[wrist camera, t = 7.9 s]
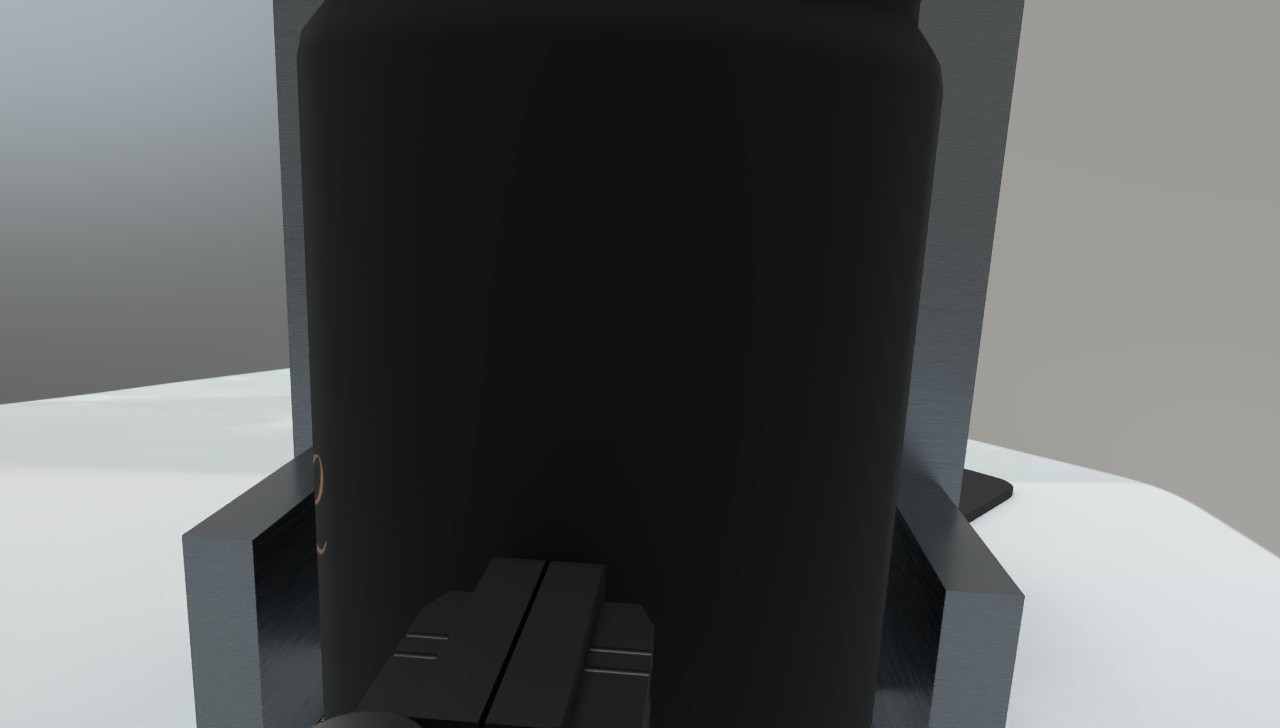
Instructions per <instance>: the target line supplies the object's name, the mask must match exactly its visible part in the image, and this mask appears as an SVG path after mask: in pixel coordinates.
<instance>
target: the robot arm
mask: <svg viewBox="0 0 1280 728" xmlns="http://www.w3.org/2000/svg"><path fill="white" fill-rule="evenodd" d="M653 644H654V625H653V623H652V622H651V620H650V619H649V617H648V615H647V614H646V612H645V610H644V609H643V607H642V606H641V605H640V604H627V603H614V602H606V565H603V564H590V563H576V562H562V561H551V562H550V564H549V562H548V561H545V560H531V559H518V558H504V557H494V558H493V559H492V560H491V562H490V563H489V565H488V567H487V569H486V571H485V572H484V574H483V576H482V578H481V579H480V581H479V583H478V585H477V587H476V588H475V590H474V592H464V591H451V590H450V591H449V592H447V593H446V594H444V595H442V596H441V597H439V598H438V599H436V600H435V601H433V602H432V603H430V604H429V605H427V606H425V607H424V608H422V609H421V611H420V613H419V614H418V616H417V617H416V619H415V620H414V622H413V623H412V625H411V626H410V628H409V629H408V631H407V635H406V636H404V637H403V638H402V640H401V641H400V643H399V644H398V646H397V647H396V649H395V651H394V656H391V657H390V658H389V660H388V661H387V663H386V664H385V666H384V667H383V669H382V670H381V672H380V673H379V675H378V676H377V678H376V679H375V681H374V682H373V684H372V685H371V687H370V689H369V690H368V692H367V693H366V695H365V696H364V698H363V699H362V701H361V702H360V704H359V705H358V707H357V708H356V710H355V711H354V713H350V714H345V715H341V716H337V717H334V718H331V719H328V720H326V721H323V722H321V723H319V724H317V725H315V726H313V727H311V728H649V727H650V706H651V685H652V664H653Z"/></svg>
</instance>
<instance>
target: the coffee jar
mask: <svg viewBox="0 0 1280 728" xmlns="http://www.w3.org/2000/svg"><path fill="white" fill-rule="evenodd" d="M921 1H922V0H325V1H324V2H323V3H322V5H321V6H320V7H319V8H318V10H317V11H316V12H315V13H314V15H313V16H312V17H311V18H310V20H309V21H308V22H307V23H306V25H305V26H304V27H303V29H302V30H301V35H300V41H299V46H298V51H297V81H298V105H299V129H300V153H301V177H302V201H303V225H304V249H305V273H306V297H307V321H308V345H309V369H310V392H311V416H312V440H313V464H314V488H315V512H316V536H317V560H318V584H319V608H320V632H321V656H322V680H323V704H324V721H326V720H328V719H331V718H334V717H337V716H341V715H345V714H350V713H354V711H355V710H356V708H357V707H358V705H359V704H360V702H361V701H362V699H363V698H364V696H365V695H366V693H367V692H368V690H369V689H370V687H371V685H372V684H373V682H374V681H375V679H376V678H377V676H378V675H379V673H380V672H381V670H382V669H383V667H384V666H385V664H386V663H387V661H388V660H389V658H390V657H391V656H394V651H395V649H396V647H397V646H398V644H399V643H400V641H401V640H402V638H403V637H404V636H406V635H407V631H408V629H409V628H410V626H411V625H412V623H413V622H414V620H415V619H416V617H417V616H418V614H419V613H420V611H421V609H422V608H424V607H425V606H427V605H429V604H430V603H432V602H433V601H435V600H436V599H438V598H439V597H441V596H442V595H444V594H446V593H447V592H449V591H450V590H451V591H464V592H474V590H475V588H476V587H477V585H478V583H479V581H480V579H481V578H482V576H483V574H484V572H485V571H486V569H487V567H488V565H489V563H490V562H491V560H492V559H493V558H494V557H504V558H518V559H531V560H545V561H548V562H549V564H550V562H551V561H562V562H576V563H590V564H603V565H606V602H614V603H627V604H640V605H641V606H642V607H643V609H644V610H645V612H646V614H647V615H648V617H649V619H650V620H651V622H652V623H653V625H654V644H653V664H652V685H651V706H650V727H649V728H871V725H872V716H873V707H874V699H875V690H876V681H877V672H878V663H879V655H880V646H881V637H882V628H883V619H884V610H885V602H886V593H887V584H888V575H889V566H890V558H891V549H892V540H893V531H894V522H895V513H896V505H897V496H898V487H899V478H900V469H901V461H902V452H903V443H904V434H905V425H906V416H907V408H908V399H909V390H910V381H911V372H912V364H913V355H914V346H915V337H916V328H917V319H918V311H919V302H920V293H921V284H922V275H923V267H924V258H925V249H926V240H927V231H928V223H929V214H930V205H931V196H932V187H933V178H934V170H935V161H936V152H937V143H938V134H939V126H940V117H941V108H942V99H943V83H942V74H941V65H940V63H939V61H938V59H937V57H936V55H935V53H934V51H933V49H932V48H931V46H930V45H929V43H928V42H927V40H926V39H925V37H924V35H923V34H922V32H921V31H920V29H919V28H918V22H919V12H920V3H921Z"/></svg>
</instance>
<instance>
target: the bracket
mask: <svg viewBox="0 0 1280 728" xmlns="http://www.w3.org/2000/svg"><path fill="white" fill-rule="evenodd" d="M324 1H325V0H273V14H274V35H275V56H276V78H277V100H278V121H279V142H280V164H281V184H282V206H283V227H284V249H285V268H286V269H285V271H286V290H287V291H286V292H287V313H288V335H289V356H290V377H291V399H292V420H293V442H294V459H293V460H291V461H290V462H288V463H287V464H285V465H284V466H282V467H281V468H280V469H278V470H277V471H275V472H274V473H272V474H271V475H269V476H268V477H266V478H265V479H263V480H262V481H261V482H259V483H258V484H256V485H255V486H253V487H252V488H250V489H249V490H247V491H246V492H245V493H243V494H242V495H240V496H239V497H237V498H236V499H234V500H233V501H231V502H230V503H229V504H227V505H226V506H224V507H223V508H221V509H220V510H218V511H217V512H215V513H214V514H212V515H211V516H210V517H208V518H207V519H205V520H204V521H202V522H201V523H199V524H198V525H196V526H195V527H194V528H192V529H191V530H189V531H188V532H186V533H185V534H183V535H182V543H183V556H184V569H185V582H186V595H187V607H188V620H189V633H190V646H191V659H192V671H193V684H194V697H195V710H196V723H197V728H311V727H313V726H315V725H316V724H317V723H318V721H319V720H320V719H321V717H322V716H323V714H324V704H323V680H322V656H321V632H320V608H319V584H318V560H317V536H316V512H315V488H314V464H313V440H312V416H311V392H310V369H309V345H308V321H307V297H306V273H305V249H304V225H303V201H302V177H301V153H300V129H299V105H298V81H297V51H298V46H299V41H300V35H301V30H302V29H303V27H304V26H305V25H306V23H307V22H308V21H309V20H310V18H311V17H312V16H313V15H314V13H315V12H316V11H317V10H318V8H319V7H320V6H321V5H322V3H323V2H324ZM1023 8H1024V0H922V1H921V3H920V12H919V22H918V28H919V29H920V31H921V32H922V34H923V35H924V37H925V39H926V40H927V42H928V43H929V45H930V46H931V48H932V49H933V51H934V53H935V55H936V57H937V59H938V61H939V63H940V65H941V74H942V83H943V99H942V108H941V117H940V126H939V134H938V143H937V152H936V161H935V170H934V178H933V187H932V196H931V205H930V214H929V223H928V231H927V240H926V249H925V258H924V267H923V275H922V284H921V293H920V302H919V311H918V319H917V328H916V337H915V346H914V355H913V364H912V372H911V381H910V390H909V399H908V408H907V416H906V425H905V434H904V443H903V452H902V461H901V469H900V478H899V487H898V496H897V505H896V513H895V522H894V531H893V540H892V549H891V558H890V566H889V575H888V584H887V593H886V602H885V610H884V619H883V628H882V637H881V646H880V655H879V663H878V672H877V681H876V690H875V699H874V707H873V716H872V723H873V727H874V728H1005V724H1006V717H1007V711H1008V704H1009V697H1010V691H1011V684H1012V678H1013V671H1014V664H1015V658H1016V651H1017V645H1018V638H1019V631H1020V625H1021V618H1022V612H1023V605H1024V598H1025V596H1024V594H1023V593H1022V592H1021V590H1020V589H1019V588H1018V587H1017V585H1016V584H1015V583H1014V581H1013V580H1012V579H1011V577H1010V576H1009V575H1008V573H1007V572H1006V571H1005V570H1004V568H1003V567H1002V566H1001V564H1000V563H999V562H998V560H997V559H996V558H995V556H994V555H993V554H992V553H991V551H990V550H989V549H988V547H987V546H986V545H985V543H984V542H983V541H982V539H981V538H980V537H979V536H978V534H977V533H976V532H975V530H974V529H973V528H972V526H971V525H970V524H969V522H968V521H967V520H966V519H965V517H964V516H963V515H962V513H961V512H960V511H959V509H958V508H959V501H960V493H961V485H962V478H963V470H964V462H965V454H966V447H967V439H968V431H969V423H970V416H971V408H972V401H973V393H974V385H975V377H976V370H977V362H978V355H979V347H980V339H981V331H982V323H983V316H984V308H985V301H986V293H987V285H988V277H989V270H990V262H991V254H992V247H993V239H994V231H995V224H996V216H997V208H998V200H999V193H1000V185H1001V177H1002V169H1003V162H1004V155H1005V147H1006V139H1007V132H1008V124H1009V115H1010V109H1011V101H1012V93H1013V85H1014V78H1015V70H1016V62H1017V53H1018V46H1019V39H1020V31H1021V23H1022V16H1023Z"/></svg>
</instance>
